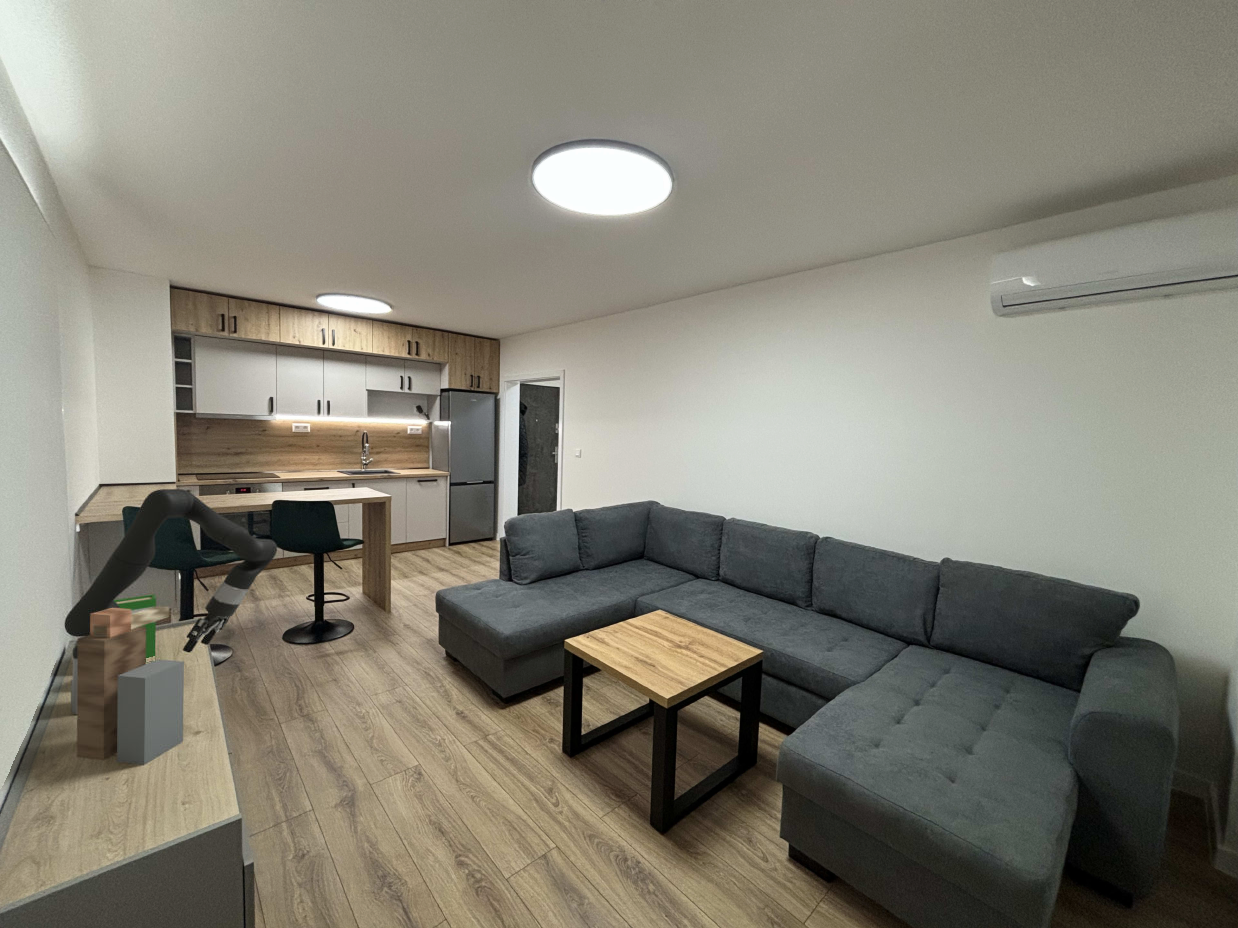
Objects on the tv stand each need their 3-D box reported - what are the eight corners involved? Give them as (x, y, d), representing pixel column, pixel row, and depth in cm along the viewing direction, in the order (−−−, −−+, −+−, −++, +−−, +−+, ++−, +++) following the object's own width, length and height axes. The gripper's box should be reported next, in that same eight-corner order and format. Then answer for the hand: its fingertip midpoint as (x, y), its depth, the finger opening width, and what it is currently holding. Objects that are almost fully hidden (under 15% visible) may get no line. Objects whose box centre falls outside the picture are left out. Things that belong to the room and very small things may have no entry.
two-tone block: (154, 615, 143) (154, 595, 143) (171, 616, 143) (172, 597, 142) (90, 635, 127) (90, 613, 127) (110, 637, 127) (110, 615, 126)
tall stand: (119, 734, 136) (120, 624, 135) (144, 737, 135) (146, 626, 135) (76, 757, 126) (77, 638, 125) (103, 760, 125) (104, 640, 125)
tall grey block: (157, 738, 135) (158, 659, 134) (182, 741, 134) (183, 661, 134) (117, 761, 125) (117, 675, 124) (144, 764, 124) (145, 678, 124)
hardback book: (86, 675, 169) (86, 608, 168) (86, 668, 174) (86, 603, 173) (155, 660, 182) (155, 598, 182) (153, 654, 187) (154, 594, 186)
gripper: (228, 589, 154) (197, 636, 151) (201, 596, 140) (167, 648, 137) (251, 599, 155) (221, 646, 152) (226, 607, 142) (193, 659, 138)
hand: (195, 647), depth 145 cm, fingers open, 8 cm apart
